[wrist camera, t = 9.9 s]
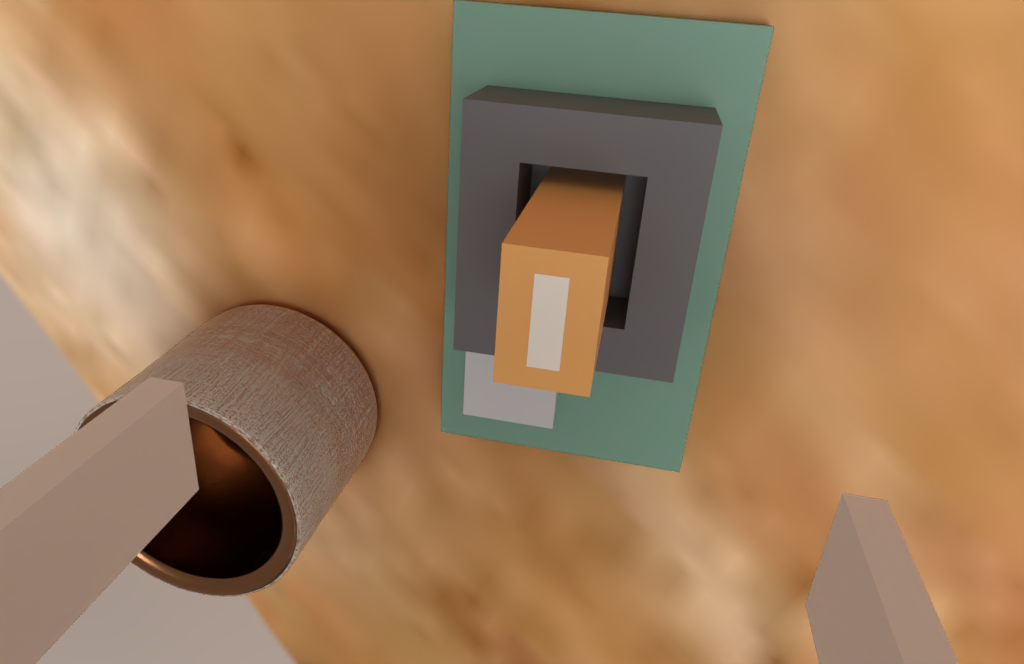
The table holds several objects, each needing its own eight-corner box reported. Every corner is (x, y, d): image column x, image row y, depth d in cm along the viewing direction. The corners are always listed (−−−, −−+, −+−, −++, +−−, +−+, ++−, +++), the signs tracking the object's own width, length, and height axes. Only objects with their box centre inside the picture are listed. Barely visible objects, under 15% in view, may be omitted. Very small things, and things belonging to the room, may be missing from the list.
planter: (198, 271, 37) (59, 356, 28) (398, 336, 36) (317, 444, 28) (189, 438, 42) (68, 553, 33) (365, 498, 41) (287, 630, 33)
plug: (611, 278, 31) (589, 398, 22) (542, 269, 31) (492, 382, 22) (626, 173, 29) (608, 257, 20) (552, 165, 29) (501, 243, 20)
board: (679, 457, 36) (680, 526, 32) (447, 419, 38) (416, 479, 33) (769, 25, 27) (790, 33, 23) (461, -1, 29) (423, 2, 24)
